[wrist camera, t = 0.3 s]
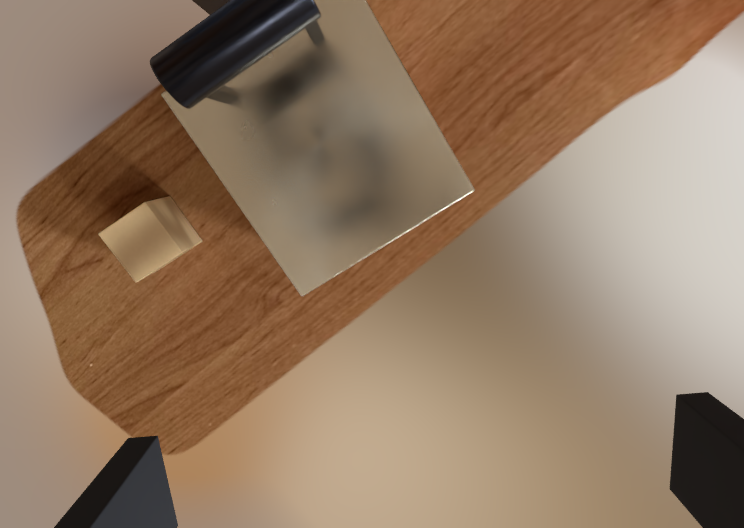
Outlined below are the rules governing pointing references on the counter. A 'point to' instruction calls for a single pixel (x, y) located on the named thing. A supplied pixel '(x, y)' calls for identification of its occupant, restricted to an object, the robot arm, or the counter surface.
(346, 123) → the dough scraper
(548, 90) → the counter surface
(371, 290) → the counter surface
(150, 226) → the block
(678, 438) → the robot arm
